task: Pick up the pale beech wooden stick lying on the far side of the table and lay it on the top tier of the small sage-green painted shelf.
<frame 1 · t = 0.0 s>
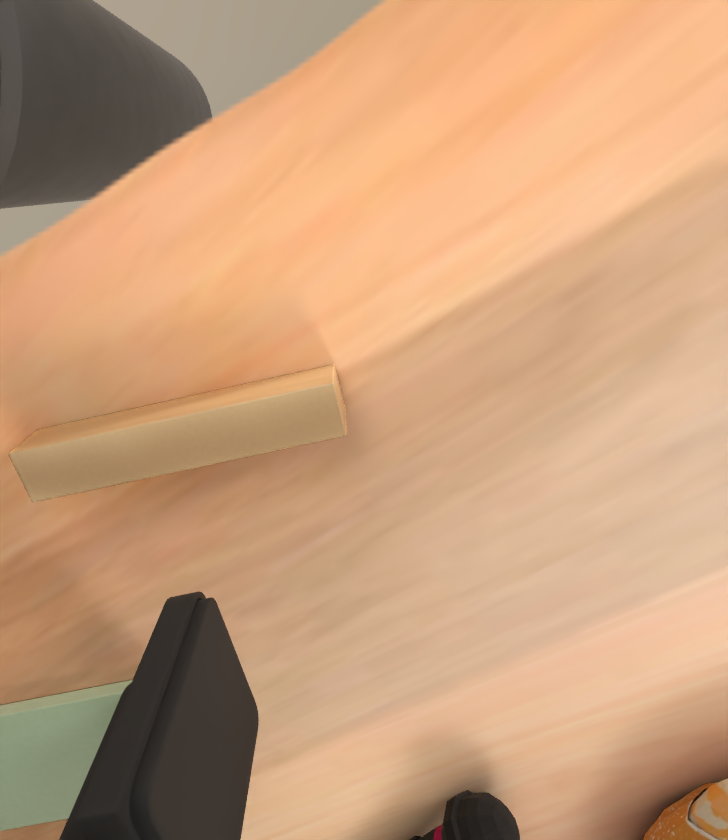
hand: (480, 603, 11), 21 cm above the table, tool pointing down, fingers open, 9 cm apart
nautilus: (667, 821, 45), on the table
stick: (192, 421, 31), on the table
shelf: (50, 755, 40), on the table
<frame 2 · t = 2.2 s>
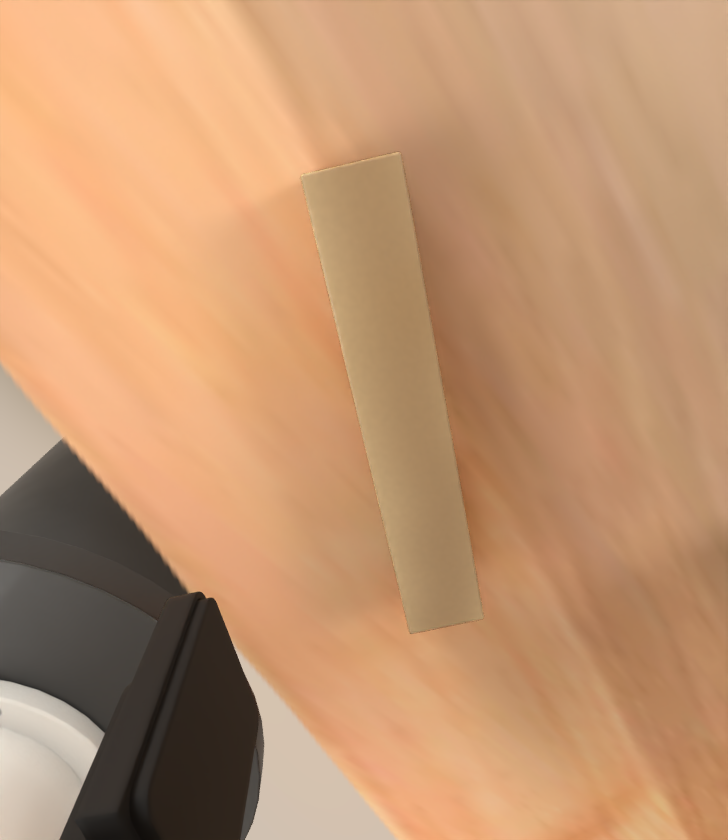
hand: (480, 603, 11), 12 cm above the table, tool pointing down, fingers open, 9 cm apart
stick: (397, 399, 22), on the table
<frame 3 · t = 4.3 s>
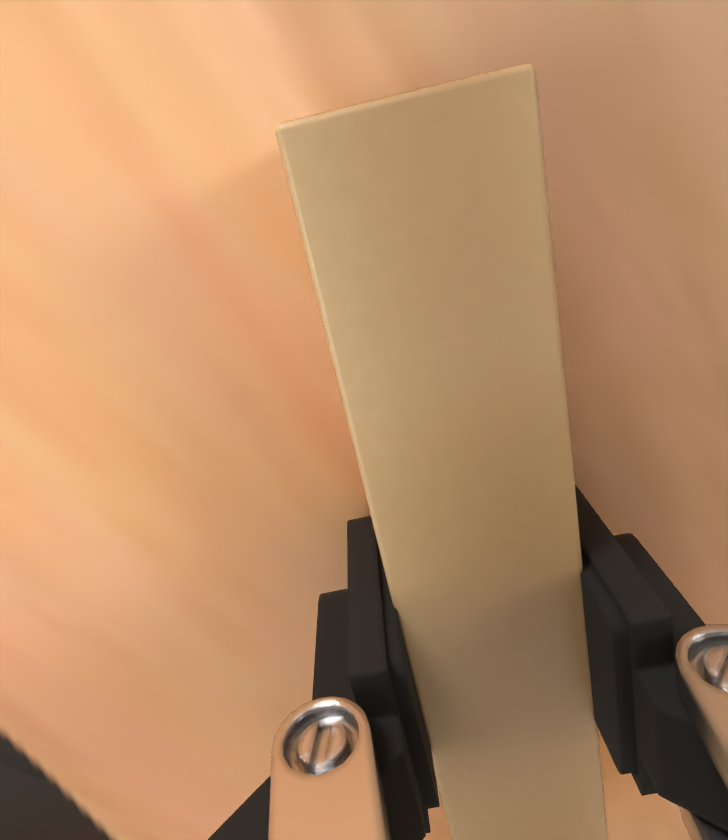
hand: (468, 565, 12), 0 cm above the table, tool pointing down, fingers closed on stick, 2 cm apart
stick: (465, 553, 12), on the table, touching gripper
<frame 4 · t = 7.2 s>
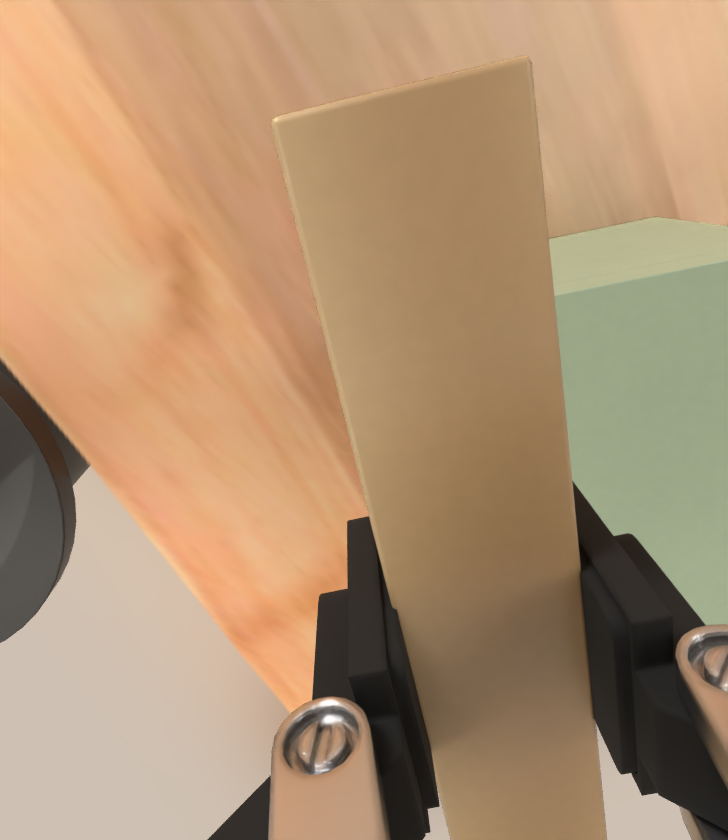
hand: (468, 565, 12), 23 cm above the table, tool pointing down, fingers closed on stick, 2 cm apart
stick: (463, 550, 12), point 22 cm above the table, touching gripper
shelf: (572, 410, 35), on the table
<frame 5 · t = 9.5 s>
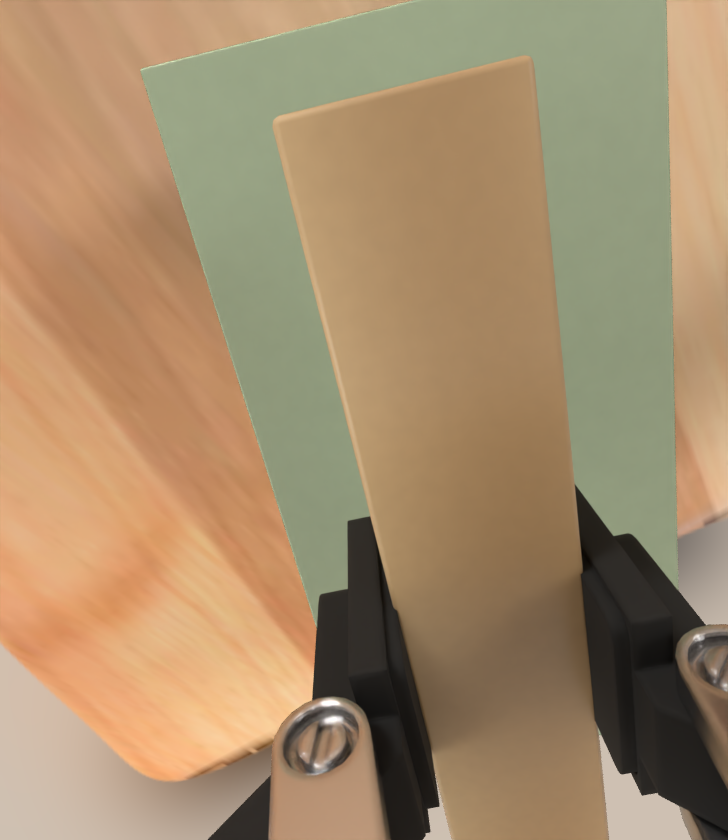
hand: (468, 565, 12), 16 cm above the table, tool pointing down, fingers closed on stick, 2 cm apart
stick: (464, 551, 12), point 15 cm above the table, touching gripper
shelf: (417, 344, 26), on the table
when the fingers open (12 cm above the table, at t = 10.6 s): stick stays where it is, resting on shelf.
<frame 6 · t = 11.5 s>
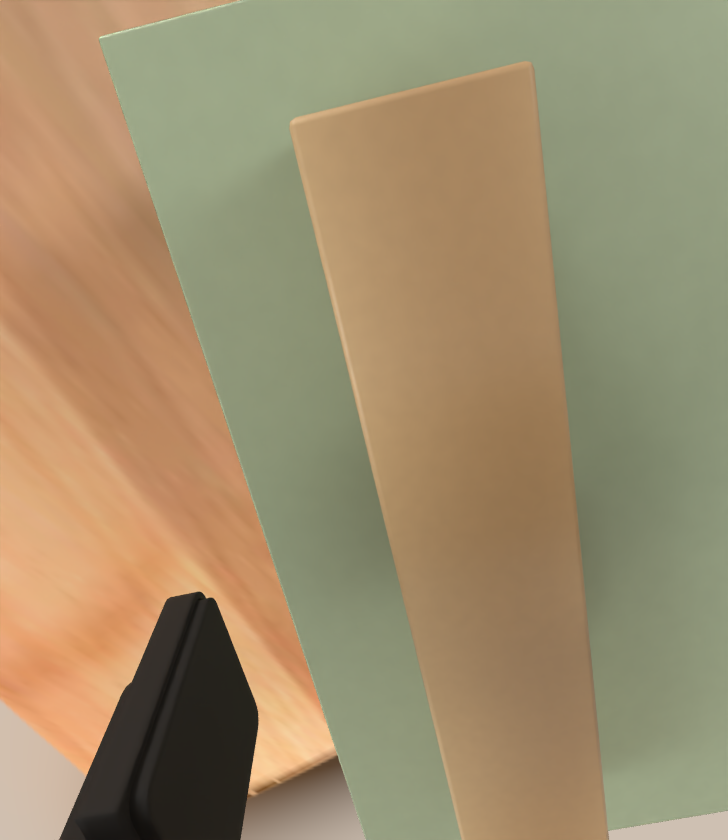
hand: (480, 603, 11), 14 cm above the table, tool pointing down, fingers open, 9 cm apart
stick: (467, 537, 12), point 12 cm above the table, touching shelf
shelf: (434, 362, 23), on the table
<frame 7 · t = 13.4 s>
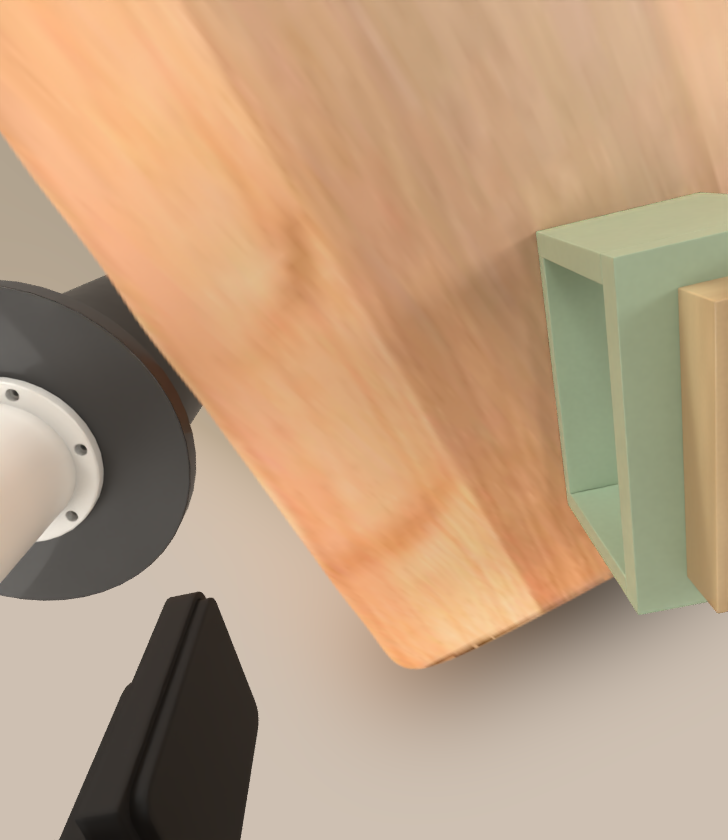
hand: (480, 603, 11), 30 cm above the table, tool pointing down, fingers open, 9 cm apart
stick: (711, 440, 29), point 12 cm above the table, touching shelf
shelf: (627, 364, 40), on the table
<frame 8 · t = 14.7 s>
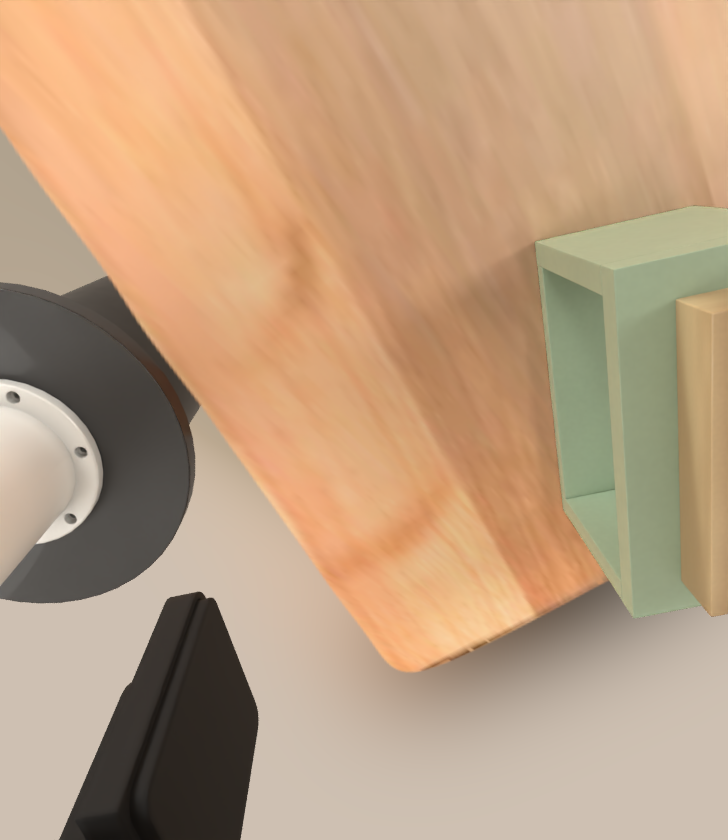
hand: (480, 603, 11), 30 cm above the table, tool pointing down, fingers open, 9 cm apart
stick: (705, 448, 30), point 12 cm above the table, touching shelf
shelf: (622, 372, 41), on the table
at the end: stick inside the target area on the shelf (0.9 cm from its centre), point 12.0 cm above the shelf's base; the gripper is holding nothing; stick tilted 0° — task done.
